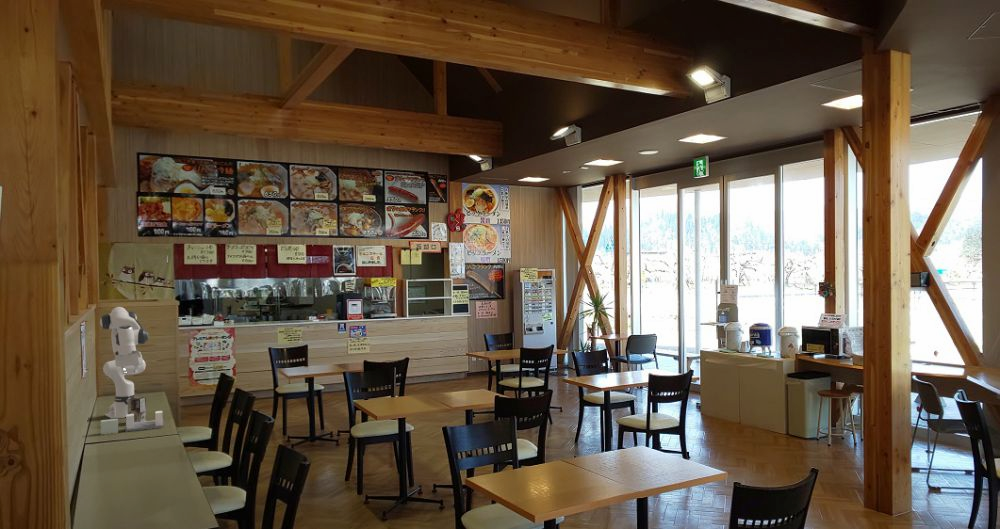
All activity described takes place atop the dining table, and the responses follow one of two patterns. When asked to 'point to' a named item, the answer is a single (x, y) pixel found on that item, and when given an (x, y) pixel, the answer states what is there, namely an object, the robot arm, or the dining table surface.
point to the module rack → (144, 425)
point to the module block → (109, 426)
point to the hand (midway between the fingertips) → (130, 372)
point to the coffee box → (137, 408)
